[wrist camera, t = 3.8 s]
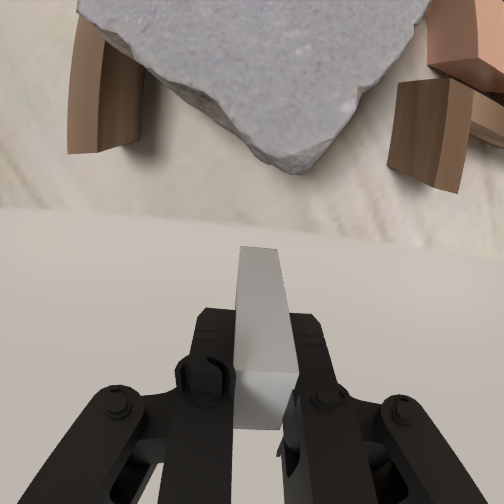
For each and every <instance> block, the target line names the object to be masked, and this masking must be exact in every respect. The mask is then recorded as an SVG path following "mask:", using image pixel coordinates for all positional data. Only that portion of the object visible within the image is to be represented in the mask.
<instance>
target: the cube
mask: <svg viewBox="0 0 504 504" xmlns="http://www.w3.org/2000/svg"><path fill="white" fill-rule="evenodd" d="M427 26H428V42H427V65H428V66H431V67H433V68H435V69H438V70H440V71H442V72H444V73H447V74H449V75H451V76H453V77H455V78H457V79H459V80H461V81H463V82H465V83H467V84H469V85H471V86H473V87H475V88H477V89H479V90H481V91H482V92H497V93H504V2H503V1H502V0H432V1H431V3H430V5H429V7H428V9H427Z"/></svg>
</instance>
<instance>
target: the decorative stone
mask: <svg viewBox="0 0 504 504" xmlns="http://www.w3.org/2000/svg"><path fill="white" fill-rule="evenodd" d="M431 1H432V0H78V1H77V9H76V12H77V13H78V14H80V15H81V16H82V17H84V18H85V19H86V20H87V21H88V22H89V23H91V24H92V25H93V26H94V27H95V28H97V29H98V30H99V31H100V32H101V33H102V34H103V35H104V37H105V39H106V41H107V42H108V43H110V44H111V45H112V46H113V47H115V48H116V49H117V50H118V51H120V52H122V53H123V54H125V55H127V56H128V57H130V58H132V59H133V60H135V61H137V62H138V63H140V64H142V65H143V66H144V67H145V68H146V69H147V70H148V71H149V72H150V73H151V74H153V75H154V76H155V77H156V78H157V79H158V80H159V81H161V82H162V83H163V84H164V85H165V86H166V87H168V88H170V89H171V90H173V91H174V92H175V93H176V94H177V95H178V96H179V97H180V98H182V99H183V100H184V101H186V102H187V103H188V104H190V105H192V106H193V107H195V108H197V109H199V110H201V111H202V112H203V113H205V114H206V115H208V116H209V117H210V118H212V119H213V121H215V122H216V123H217V124H219V125H220V126H222V127H224V128H225V129H227V130H229V131H231V132H232V133H234V134H235V135H237V136H238V137H239V138H240V139H241V140H242V141H244V142H245V143H246V144H247V146H248V147H249V149H250V150H251V152H252V153H253V154H254V156H255V157H257V158H258V159H259V160H260V161H262V162H264V163H266V164H270V165H273V166H275V167H277V168H279V169H280V170H282V171H284V172H286V173H289V174H291V175H292V174H297V175H301V174H303V173H305V172H307V171H308V170H310V169H311V168H312V167H313V165H314V164H315V162H316V161H317V160H318V159H319V157H320V156H321V155H322V154H323V153H324V151H325V150H326V149H327V148H328V147H329V146H330V144H331V143H332V142H333V141H334V140H335V138H336V137H337V136H338V135H339V133H340V132H341V131H342V129H343V128H344V127H345V125H346V124H347V123H348V122H349V121H350V120H351V118H352V116H353V114H354V112H355V110H356V108H357V105H358V103H359V100H360V97H361V95H362V94H363V93H364V92H366V91H367V90H369V89H370V88H372V87H373V86H375V85H376V84H378V82H379V81H380V80H381V78H382V77H383V76H384V74H385V73H386V72H387V71H388V70H389V69H390V68H391V67H392V65H393V64H394V63H395V62H396V61H397V60H398V59H399V58H400V56H401V55H402V53H403V52H404V50H405V49H406V47H407V45H408V44H409V42H410V41H411V39H412V37H413V35H414V26H417V25H419V24H420V22H421V19H422V17H423V15H424V13H425V12H426V10H427V9H428V7H429V5H430V3H431Z"/></svg>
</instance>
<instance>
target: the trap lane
mask: <svg viewBox="0 0 504 504" xmlns="http://www.w3.org/2000/svg"><path fill="white" fill-rule="evenodd" d="M502 1H503V2H504V0H502ZM144 70H145V67H144V66H143V65H142V64H140V63H138V62H137V61H135V60H133V59H132V58H130V57H128V56H127V55H125V54H123V53H122V52H120V51H118V50H117V49H116V48H115V47H113V46H112V45H111V44H110V43H108V42H107V41H106V39H105V37H104V35H103V34H102V33H101V32H100V31H99V30H98V29H97V28H95V27H94V26H93V25H92V24H91V23H89V22H88V21H87V20H86V19H85V18H84V17H82V16H81V15H79V20H78V25H77V30H76V36H75V42H74V49H73V56H72V64H71V73H70V84H69V98H68V123H67V150H68V154H80V153H98V152H101V151H104V150H107V149H111V148H114V147H117V146H121V145H124V144H127V143H131V142H134V141H138V140H140V123H141V106H142V92H143V81H144ZM469 134H470V135H473V136H475V137H477V138H479V139H481V140H484V141H486V142H488V143H490V144H492V145H494V146H496V147H498V148H501V149H504V93H497V92H491V99H489V98H488V97H486V96H484V95H482V94H481V93H479V92H477V91H475V90H473V89H471V88H470V87H468V86H466V85H464V84H462V83H460V82H458V81H456V80H454V79H452V78H439V79H428V80H418V81H410V82H402V83H398V92H397V101H396V110H395V117H394V125H393V132H392V138H391V144H390V150H389V156H388V162H387V166H389V167H391V168H394V169H396V170H398V171H400V172H402V173H404V174H407V175H409V176H411V177H413V178H415V179H417V180H419V181H421V182H423V183H425V184H427V185H429V186H431V187H433V188H436V189H440V190H444V191H448V192H452V193H455V194H458V190H459V186H460V181H461V177H462V172H463V167H464V162H465V157H466V151H467V145H468V139H469Z"/></svg>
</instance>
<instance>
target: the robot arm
mask: <svg viewBox="0 0 504 504" xmlns="http://www.w3.org/2000/svg"><path fill="white" fill-rule="evenodd" d="M323 336H324V335H323V331H322V328H321V324H320V323H319V322H318V321H317V320H316V318H315V317H314V316H313V315H312V314H301V313H289V311H288V305H287V300H286V294H285V289H284V283H283V278H282V273H281V268H280V263H279V258H278V252H277V249H269V248H257V247H246V246H241V247H240V257H239V268H238V280H237V291H236V302H235V310H227V309H215V308H205V309H204V310H203V311H202V313H201V314H200V315H199V316H198V317H197V321H196V327H195V330H194V336H193V340H192V344H191V349H190V354H189V355H188V356H186V357H185V358H183V359H182V360H181V361H179V362H178V364H177V366H176V368H175V378H176V385H177V387H176V388H174V389H173V390H171V391H168V392H166V393H161V394H155V395H145V396H140V394H139V393H138V392H137V391H135V390H134V389H132V388H131V387H128V386H124V385H110V386H108V387H105V388H103V389H101V390H100V391H99V392H98V393H96V394H95V395H94V397H93V398H92V399H91V400H90V402H89V403H88V404H87V406H86V407H85V408H84V410H83V411H82V412H81V414H80V415H79V416H78V418H77V419H76V420H75V422H74V423H73V425H72V426H71V427H70V429H69V430H68V431H67V433H66V434H65V435H64V437H63V438H62V440H61V441H60V443H59V444H58V445H57V447H56V448H55V449H54V451H53V452H52V453H51V455H50V456H49V458H48V459H47V460H46V462H45V463H44V465H43V466H42V468H41V469H40V470H39V472H38V473H37V475H36V476H35V478H34V479H33V481H32V482H31V483H30V485H29V486H28V488H27V489H26V491H25V492H24V494H23V495H22V497H21V498H20V500H19V501H18V503H17V504H137V503H138V501H139V499H140V497H141V495H142V493H143V491H144V489H145V487H146V485H147V483H148V482H149V479H150V478H151V476H152V474H153V472H154V470H155V468H156V466H157V464H158V463H164V466H163V471H162V478H161V484H160V490H159V496H158V503H157V504H231V481H232V446H233V445H232V444H233V428H234V429H254V430H255V429H256V430H280V428H281V425H282V422H283V432H284V436H283V438H282V441H281V443H280V445H279V448H278V450H277V455H276V456H277V457H280V455H281V458H282V472H283V487H284V502H285V504H488V503H487V501H486V500H485V498H484V497H483V495H482V493H481V492H480V490H479V489H478V487H477V486H476V484H475V483H474V481H473V480H472V478H471V476H470V475H469V473H468V472H467V470H465V467H464V466H463V465H462V463H461V462H460V460H459V459H458V457H457V456H456V454H455V453H454V451H453V450H452V448H451V447H450V445H449V444H448V443H447V441H446V440H445V438H444V437H443V435H442V434H441V433H440V431H439V430H438V428H437V427H436V426H435V424H434V423H433V421H432V420H431V419H430V417H429V416H428V414H427V413H426V412H425V410H424V409H423V408H422V406H421V405H420V404H419V403H418V402H417V401H416V400H415V399H413V398H411V397H409V396H406V395H400V394H398V395H393V396H390V397H389V398H387V399H385V400H384V402H383V403H382V404H376V403H371V402H366V401H361V400H358V399H355V398H353V397H351V396H350V395H349V393H348V391H347V390H346V389H345V388H344V387H343V386H341V385H340V384H338V382H337V380H336V377H335V373H334V369H333V366H332V362H331V359H330V355H329V352H328V348H327V346H326V342H325V338H324V337H323Z"/></svg>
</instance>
